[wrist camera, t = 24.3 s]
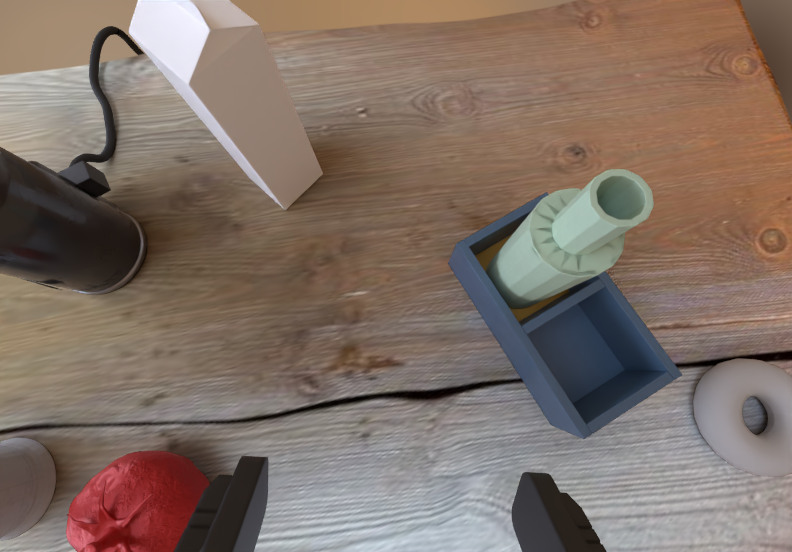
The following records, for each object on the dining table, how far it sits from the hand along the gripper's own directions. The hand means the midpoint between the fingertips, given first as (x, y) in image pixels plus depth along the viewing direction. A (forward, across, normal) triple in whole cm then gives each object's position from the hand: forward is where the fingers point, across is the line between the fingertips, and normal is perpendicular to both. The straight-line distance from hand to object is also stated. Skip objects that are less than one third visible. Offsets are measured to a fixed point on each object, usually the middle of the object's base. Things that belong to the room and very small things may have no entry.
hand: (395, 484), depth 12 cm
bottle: (+26, -14, +1) cm, 29 cm away
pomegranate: (+18, +17, +23) cm, 34 cm away
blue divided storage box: (+24, -16, +4) cm, 29 cm away
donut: (+18, -35, +9) cm, 40 cm away
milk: (+35, +11, -6) cm, 37 cm away
